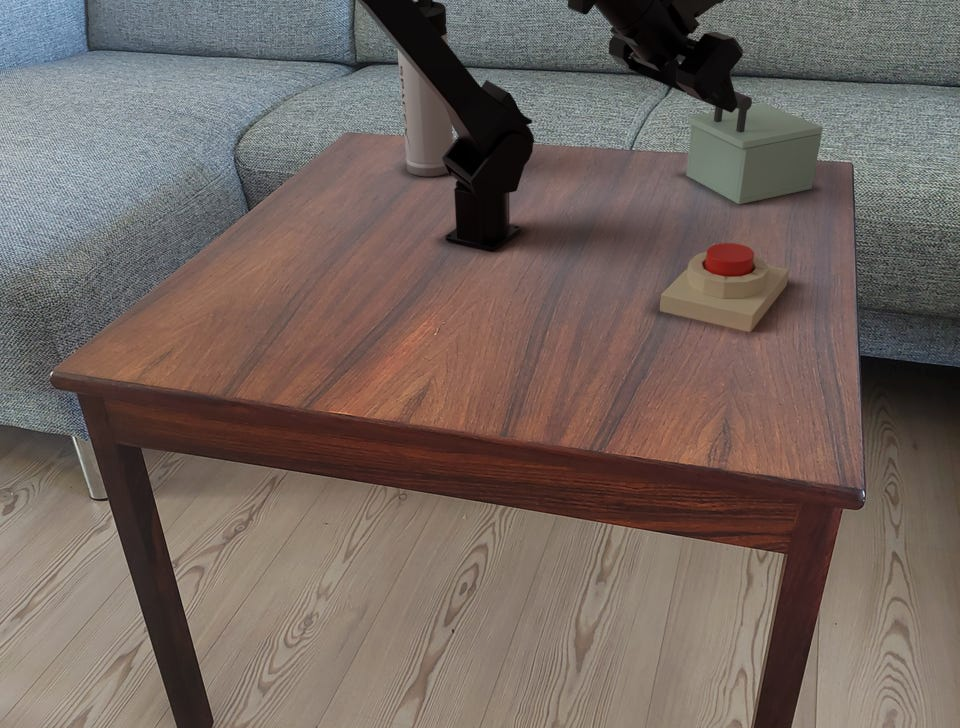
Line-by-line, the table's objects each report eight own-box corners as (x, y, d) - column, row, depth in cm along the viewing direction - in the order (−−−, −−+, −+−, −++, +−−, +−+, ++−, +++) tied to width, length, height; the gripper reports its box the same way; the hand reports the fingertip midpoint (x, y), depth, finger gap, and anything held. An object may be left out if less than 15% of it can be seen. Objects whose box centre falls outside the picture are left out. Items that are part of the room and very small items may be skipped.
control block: (750, 332, 86) (755, 298, 84) (659, 311, 90) (662, 277, 88) (786, 285, 93) (792, 252, 91) (700, 267, 97) (704, 236, 95)
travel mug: (458, 160, 126) (451, -2, 114) (449, 177, 121) (439, 9, 109) (413, 159, 127) (401, -2, 115) (402, 176, 122) (388, 9, 110)
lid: (742, 149, 106) (748, 105, 103) (687, 123, 115) (691, 82, 112) (822, 133, 110) (830, 91, 107) (763, 109, 118) (768, 69, 115)
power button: (742, 282, 87) (745, 265, 86) (697, 273, 89) (699, 256, 88) (757, 264, 90) (760, 248, 89) (714, 256, 92) (716, 239, 91)
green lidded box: (738, 204, 110) (746, 148, 106) (685, 175, 119) (691, 122, 115) (811, 189, 114) (822, 134, 110) (755, 161, 122) (763, 109, 118)
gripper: (739, -51, 89) (812, 56, 99) (637, -73, 103) (710, 23, 113) (662, 48, 91) (741, 143, 101) (572, 14, 105) (650, 101, 115)
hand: (710, 98), depth 107 cm, fingers open, 9 cm apart
